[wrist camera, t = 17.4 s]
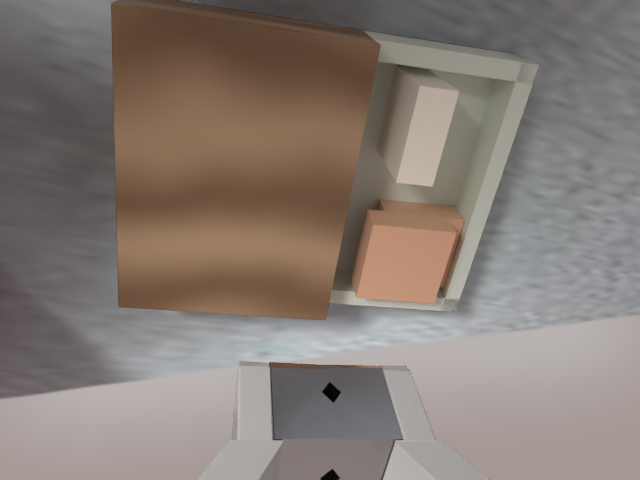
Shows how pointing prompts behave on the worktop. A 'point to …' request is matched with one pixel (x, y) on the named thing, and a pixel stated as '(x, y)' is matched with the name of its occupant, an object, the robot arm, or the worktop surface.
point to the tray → (457, 156)
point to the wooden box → (233, 156)
